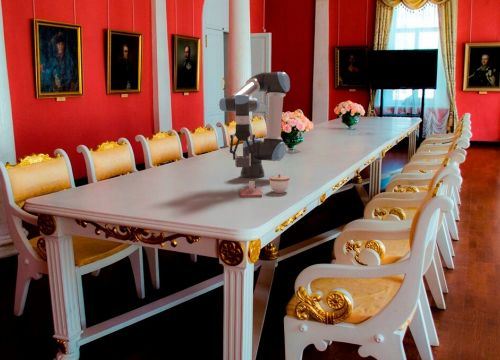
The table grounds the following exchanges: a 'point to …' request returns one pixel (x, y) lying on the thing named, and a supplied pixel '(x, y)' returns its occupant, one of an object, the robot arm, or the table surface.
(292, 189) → the table surface
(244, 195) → the plate
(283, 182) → the lidded jar
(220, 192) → the table surface
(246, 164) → the hollow frame block
